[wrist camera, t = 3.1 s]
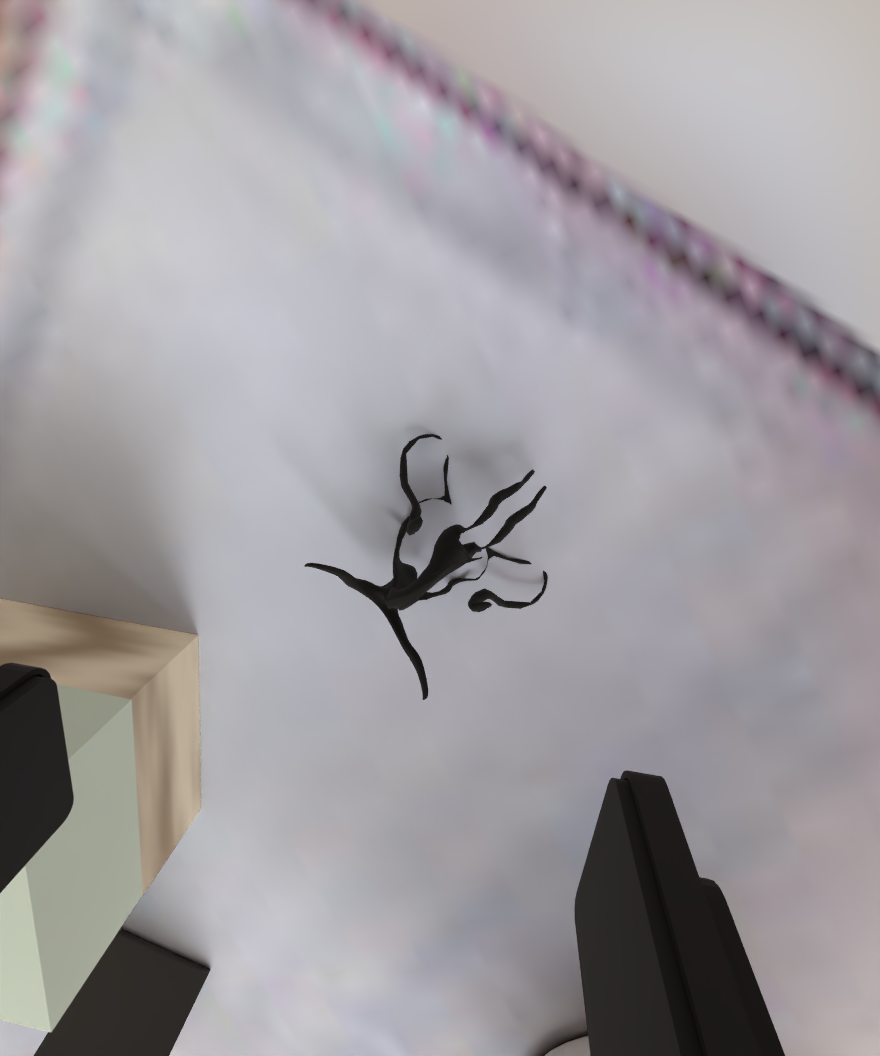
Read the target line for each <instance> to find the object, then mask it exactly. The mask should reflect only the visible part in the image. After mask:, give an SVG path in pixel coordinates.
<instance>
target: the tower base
mask: <svg viewBox="0 0 880 1056" xmlns="http://www.w3.org/2000/svg"><path fill="white" fill-rule="evenodd" d="M5 663H17V664H22V665H28V666H34V667H39V668H43V669H46V670H47V671H48V672H49V673H50V676H51V679H53V680H54V681H55V682H56V684H58V685H63V686H68V687H73V688H78V689H82V690H87V691H92V692H97V693H102V694H107V695H112V696H117V697H122V698H127V699H131V700H132V716H133V733H134V750H135V767H136V784H137V802H138V819H139V836H140V853H141V870H142V889H143V895H144V894H145V892H146V891H147V889H148V888H149V886H150V885H151V883H152V882H153V880H154V879H155V877H156V876H157V874H158V873H159V871H160V870H161V868H162V867H163V865H164V864H165V862H166V861H167V859H168V858H169V856H170V855H171V853H172V852H173V850H174V849H175V847H176V845H177V844H178V842H179V841H180V839H181V838H182V836H183V835H184V833H185V832H186V830H187V829H188V827H189V826H190V824H191V823H192V821H193V820H194V818H195V817H196V815H197V814H198V812H199V811H200V809H201V762H200V700H199V638H198V635H195V634H190V633H184V632H179V631H173V630H168V629H163V628H157V627H152V626H146V625H141V624H135V623H130V622H125V621H119V620H114V619H108V618H103V617H98V616H92V615H87V614H81V613H76V612H70V611H65V610H60V609H54V608H49V607H43V606H38V605H32V604H27V603H22V602H16V601H11V600H5V599H0V666H1V665H3V664H5Z"/></svg>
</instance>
